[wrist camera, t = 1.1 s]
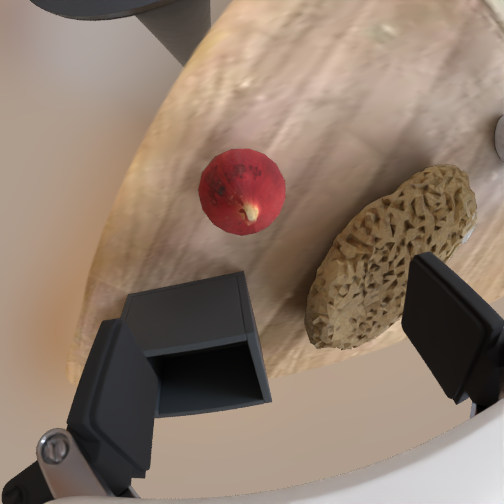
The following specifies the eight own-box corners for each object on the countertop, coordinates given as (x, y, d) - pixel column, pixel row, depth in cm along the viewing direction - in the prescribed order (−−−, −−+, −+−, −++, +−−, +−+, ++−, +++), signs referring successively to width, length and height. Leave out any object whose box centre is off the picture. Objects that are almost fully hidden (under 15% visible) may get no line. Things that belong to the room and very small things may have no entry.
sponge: (418, 139, 25) (253, 266, 24) (485, 166, 19) (302, 333, 18) (432, 232, 33) (307, 339, 32) (479, 264, 27) (347, 391, 26)
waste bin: (161, 359, 32) (154, 418, 25) (127, 294, 28) (108, 355, 20) (260, 341, 32) (272, 402, 25) (243, 270, 28) (255, 331, 21)
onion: (186, 185, 23) (175, 224, 16) (231, 126, 22) (240, 140, 15) (243, 224, 26) (256, 276, 19) (288, 171, 24) (320, 205, 17)
